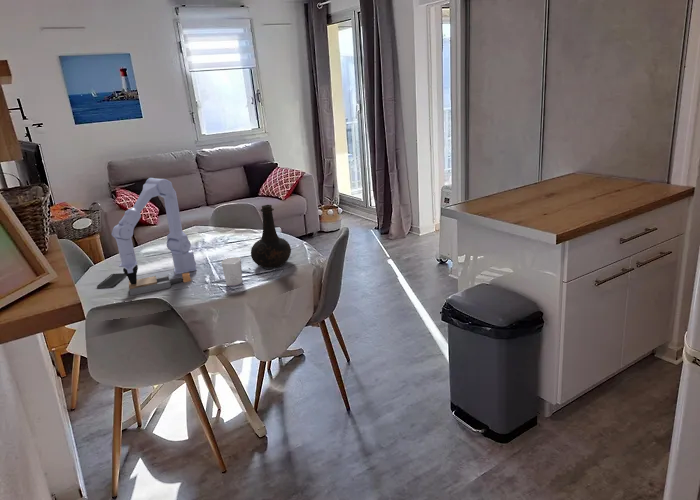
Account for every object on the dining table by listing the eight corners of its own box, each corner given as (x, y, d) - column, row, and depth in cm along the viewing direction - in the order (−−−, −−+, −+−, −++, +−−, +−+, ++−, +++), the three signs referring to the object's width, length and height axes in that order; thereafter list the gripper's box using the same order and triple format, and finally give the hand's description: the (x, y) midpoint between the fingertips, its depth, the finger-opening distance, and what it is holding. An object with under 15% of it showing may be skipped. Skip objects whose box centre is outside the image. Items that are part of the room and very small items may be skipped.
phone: (95, 286, 219) (111, 273, 233) (96, 289, 219) (112, 276, 233) (113, 286, 218) (128, 272, 232) (114, 288, 219) (129, 275, 233)
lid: (156, 277, 219) (155, 275, 219) (157, 283, 212) (156, 281, 212) (128, 282, 215) (128, 281, 215) (129, 289, 209) (128, 287, 208)
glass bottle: (245, 269, 229) (236, 209, 219) (267, 256, 244) (260, 199, 234) (278, 274, 221) (270, 212, 212) (299, 260, 236) (293, 201, 227)
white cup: (221, 283, 215) (217, 261, 212) (237, 277, 220) (233, 256, 217) (231, 288, 209) (227, 265, 206) (247, 282, 215) (244, 260, 211)
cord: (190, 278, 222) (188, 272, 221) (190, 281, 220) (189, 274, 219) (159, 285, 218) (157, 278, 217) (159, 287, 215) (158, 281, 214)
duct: (169, 280, 222) (168, 275, 221) (170, 287, 215) (169, 281, 214) (130, 288, 216) (129, 283, 215) (130, 295, 209) (129, 289, 208)
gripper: (116, 249, 212) (123, 279, 217) (116, 260, 200) (123, 291, 204) (134, 246, 215) (141, 276, 219) (135, 256, 202) (142, 288, 207)
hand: (133, 283), depth 212 cm, fingers closed
